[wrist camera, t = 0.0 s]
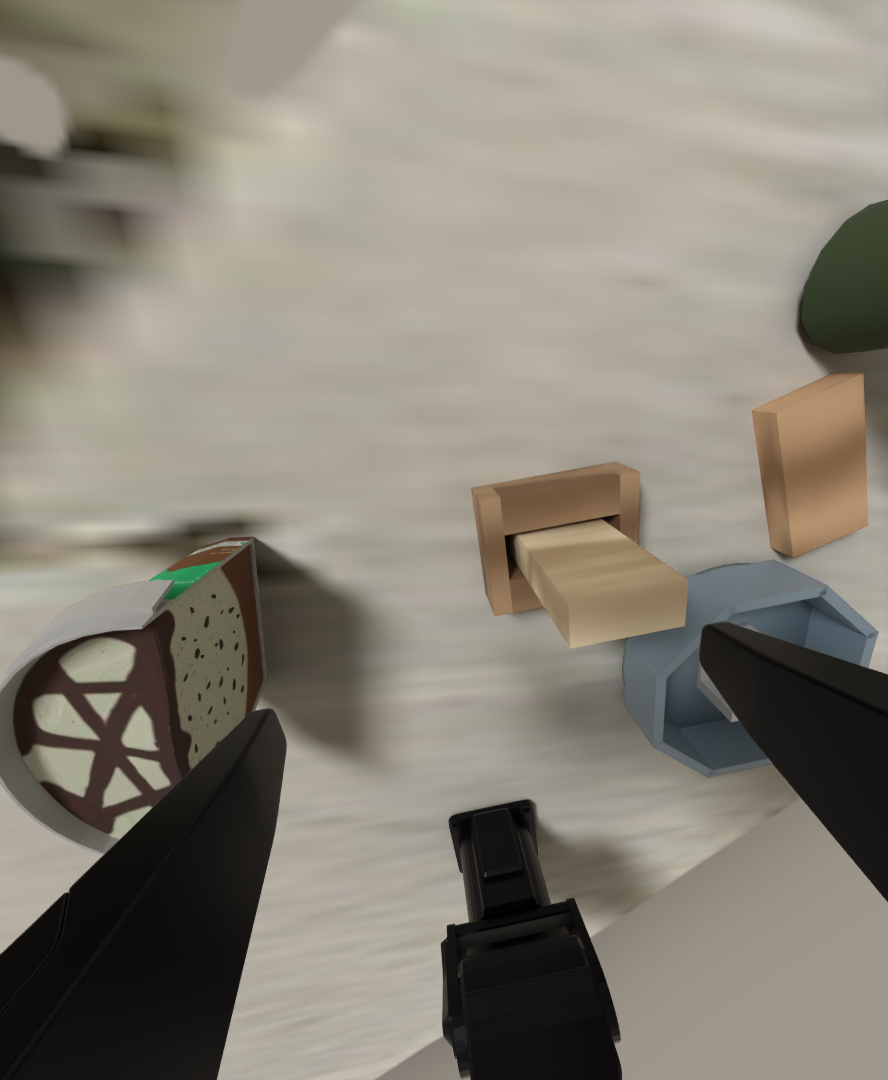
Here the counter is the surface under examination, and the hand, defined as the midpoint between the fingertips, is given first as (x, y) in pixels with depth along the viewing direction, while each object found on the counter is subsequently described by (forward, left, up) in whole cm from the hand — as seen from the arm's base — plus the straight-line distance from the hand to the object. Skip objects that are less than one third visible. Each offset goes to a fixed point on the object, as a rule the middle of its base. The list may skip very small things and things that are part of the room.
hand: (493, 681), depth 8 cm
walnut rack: (-3, -6, -15) cm, 16 cm away
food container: (-4, +14, -15) cm, 21 cm away
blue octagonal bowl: (-14, -17, -15) cm, 27 cm away
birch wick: (-3, -6, -15) cm, 16 cm away
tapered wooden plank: (-2, -21, -15) cm, 26 cm away
